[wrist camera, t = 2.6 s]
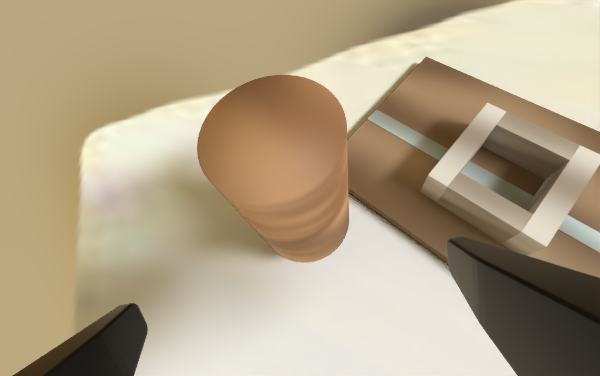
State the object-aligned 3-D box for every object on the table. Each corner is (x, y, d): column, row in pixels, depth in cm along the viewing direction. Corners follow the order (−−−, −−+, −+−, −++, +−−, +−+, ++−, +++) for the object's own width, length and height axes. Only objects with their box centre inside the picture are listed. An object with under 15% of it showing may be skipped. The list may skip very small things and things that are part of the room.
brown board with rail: (657, 413, 15) (732, 433, 12) (321, 173, 24) (317, 150, 21) (749, 209, 18) (826, 185, 15) (424, 64, 27) (433, 30, 24)
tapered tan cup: (313, 287, 20) (269, 235, 9) (256, 235, 22) (169, 144, 11) (365, 225, 21) (379, 117, 11) (307, 182, 23) (269, 56, 13)
